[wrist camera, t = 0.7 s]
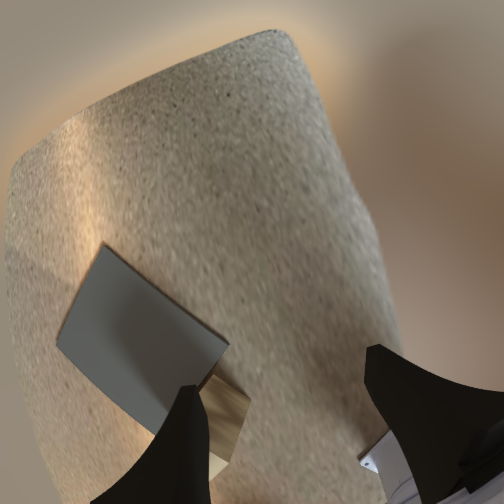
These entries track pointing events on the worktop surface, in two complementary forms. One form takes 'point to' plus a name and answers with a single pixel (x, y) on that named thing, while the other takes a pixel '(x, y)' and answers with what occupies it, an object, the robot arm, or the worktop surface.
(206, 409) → the birch block
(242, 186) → the worktop surface
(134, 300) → the mat
